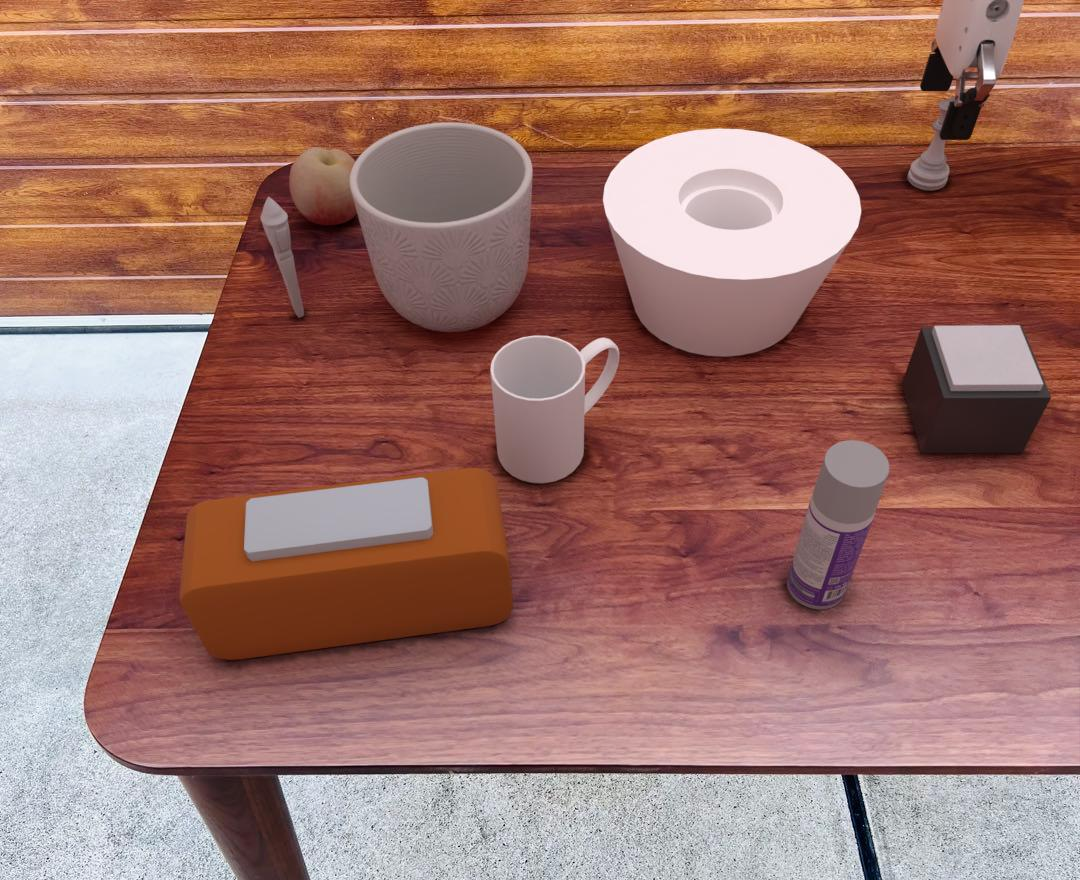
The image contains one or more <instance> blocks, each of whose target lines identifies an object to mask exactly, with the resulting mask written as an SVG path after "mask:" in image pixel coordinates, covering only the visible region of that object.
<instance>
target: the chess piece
mask: <svg viewBox="0 0 1080 880" xmlns="http://www.w3.org/2000/svg"><path fill="white" fill-rule="evenodd" d="M954 99H955V96H950V97H949V98H948V99H943V100H940V102H939V103H938V105H937V106H938V109H939V112H940V116H939V117H938V118H937V119H935V120H934V121H933V122H932V125H931V128H932V130H933V131H934V132H935V133H934V136H933V138H932V140H931V142H930V145H929V146H928V148H927V149H926V150H925V151H923V152H922V153H921V154H920V157H918V158H916V159H915V160H914V161H913V162H912V163H911V165H910V168H909V170H908V173H907V175H906V176H907V181H908V183H909V184H910V185H912V186H913V187H914V188H916V189H919V190H922V191H929V192H930V191H937V190H940V189H943V188H944V187H945V186H946V184H947V182H948V179H949V175H950V166H949V165H948V163H947V156H946V154H945V145H946V141H947V140H941V138H940V136H939V134H940V131H941V128H942V125H943V122H944V119H945V116H946V113H947V110H948V107H949V104H950V102H954Z"/></svg>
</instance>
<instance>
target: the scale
mask: <svg viewBox="0 0 1080 880" xmlns="http://www.w3.org/2000/svg"><path fill="white" fill-rule="evenodd" d="M1035 356H1036V355H1035V354H1034V352H1033V349H1032V346H1031V344H1030V341H1029V339H1028V336H1027V334H1026V332H1025V329H1024V326H1021V325H1020V324H1010V325H1009V324H1006V325H1005V324H1004V325H1003V324H999V325H998V324H997V325H996V324H995V325H992V324H991V325H989V324H988V325H986V324H985V325H983V324H982V325H933V326H931V327H930V326H927V327H925V326H923V327H921V328H920V331H919V334H918V336H917V339H916V341H915V344H914V348H913V350H912V353H911V355H910V358H909V360H908V364H907V367H906V370H905V373H904V375H903V378H902V381H901V387H902V391H903V394H904V398H905V401H906V406H907V408H908V412H909V416H910V420H911V422H912V426H913V430H914V434H915V436H916V441H917V444H918V447H919V450H920V451H919V452H920V454H1022V453H1024V450H1025V449H1026V447H1027V444H1028V443H1029V441H1030V439H1031V438H1032V436H1033V433H1034V431H1035V430H1036V427H1037V426H1038V424H1039V422H1040V420H1041V418H1042V417H1043V415H1044V413H1045V411H1046V409H1047V407H1048V405H1049V403H1050V401H1051V399H1052V395H1051V393H1050V390H1049V388H1048V386H1047V383H1046V381H1045V378H1044V376H1043V373H1042V371H1041V368H1040V366H1039V363H1038V361H1037V359H1036V357H1035Z"/></svg>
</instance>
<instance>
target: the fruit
mask: <svg viewBox="0 0 1080 880" xmlns="http://www.w3.org/2000/svg"><path fill="white" fill-rule="evenodd" d="M355 162H356V160H355V159H354V158H353V157H352V156H351V155H350V154H349V153H347V152H346V151H344V150H342V149H340V148H331V149H327V148H323V147H321V146H312V147H310V148H308V149H306V150H304V151H303V152H302V153H301V154H299V156H298V157H297V158H296V159H294V161H293V163H292V165H291V167H290V171H289V176H288V177H289V178H288V179H289V181H288V182H289V192H290V196H291V199H292V201H293V204H294V206H295V207H296V210H297V211H298V212H299V213H300V214H301V215H302V216H303V217H304V218H305V219H306V220H307V221H309V222H311V223H313V224H316V225H320V226H337V225H342V224H344V223H347V222H349V221H350V220H352V219H353V218H354V217H355V216H356V215H357V211H356V207H355V204H354V200H353V197H352V193H351V190H350V182H349V181H350V173H351V170H352V168H353V165H354V163H355Z"/></svg>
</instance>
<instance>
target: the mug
mask: <svg viewBox="0 0 1080 880" xmlns="http://www.w3.org/2000/svg"><path fill="white" fill-rule="evenodd" d="M607 349H608V355H607V360H606V362H605V365H604V367H603V370H602V372H601V373H600V376H599V377H598V379H597V380H596V381H595V383H594V384H593V386H592V387H591V388H590V389H589V390H588V392H587V393H586V365H587V364H588V363H589V362H590V361H591V360H592V359H594V357H596V356H597V355H598V354H600V353H601V352H603V351H605V350H607ZM620 357H621V356H620V350H619V346H617V344H616V343H615V342H614V340H611V338H607V337H599V338H597V339H594V340H592V341H591V342H590V343H588V344H587V345H586V346H584V347H583V348H582V349H581V350H580V351H579V349H578V348H577V347H576V346H574V345H573V344H571V343H570V342H568V341H566V340H564V339H561V338H559V337H555V336H549V335H530V336H529V335H528V336H523V337H520V338H517V339H513V340H511V341H509V342H507V343H506V344H505V345H503V346H502V347H501V348H500V349H499V350H498V351H497V352H496V353H495V355H494V356H493V359H492V360H491V362H490V370H489V371H490V383H491V393H492V394H491V395H492V404H493V405H492V407H493V419H494V428H495V429H494V430H495V431H494V432H495V442H496V443H495V444H496V451H497V452H496V453H497V457H498V461H499V463H500V464H501V466H502V467H503V469H504V470H505V471H506V472H507V473H508V474H509V475H511V476H512V477H514V478H516V479H517V480H520V481H522V482H527V483H531V484H548V483H553V482H557V481H560V480H562V479H565V478H566V477H568V476H570V475H571V474H573V473H574V471H575V470H576V469H577V468H578V466H580V465H581V462H582V460H583V457H584V454H585V453H584V452H585V451H584V450H585V415H586V414H587V413H588V412H589V411H590V410H591V409H592V408H593V407H594V406H595V405H596V403H597V402H598V401H599V400H600V399H601V397H602V396H603V395H604V393H606V391H607V389H608V388H609V387H610V385H611V383H612V382H613V380H614V378H615V376H616V373H617V370H618V367H619V364H620Z"/></svg>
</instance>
